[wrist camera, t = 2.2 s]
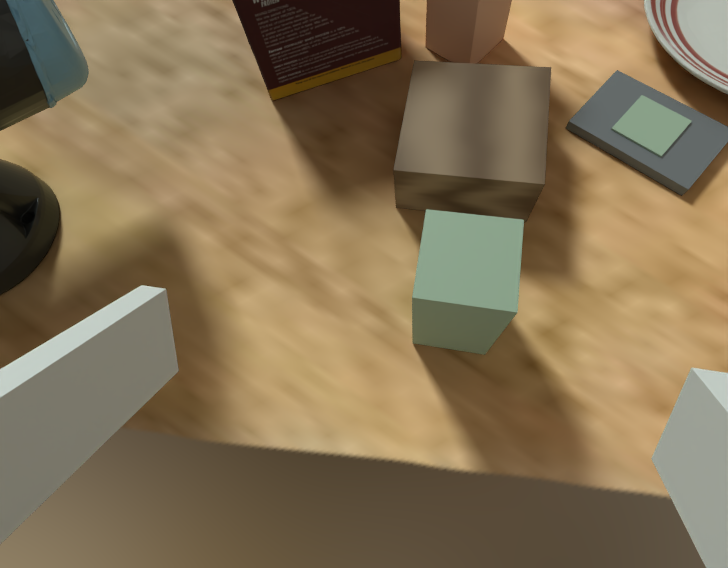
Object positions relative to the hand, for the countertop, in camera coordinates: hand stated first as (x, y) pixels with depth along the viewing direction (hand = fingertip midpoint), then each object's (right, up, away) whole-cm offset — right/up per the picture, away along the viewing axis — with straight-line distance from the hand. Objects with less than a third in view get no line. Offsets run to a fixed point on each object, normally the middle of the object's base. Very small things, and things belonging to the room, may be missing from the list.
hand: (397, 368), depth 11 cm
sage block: (+7, -1, +26) cm, 27 cm away
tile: (+26, +17, +30) cm, 43 cm away
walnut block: (+9, +14, +31) cm, 36 cm away
